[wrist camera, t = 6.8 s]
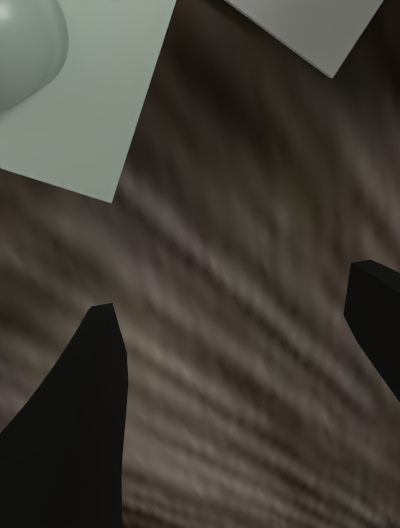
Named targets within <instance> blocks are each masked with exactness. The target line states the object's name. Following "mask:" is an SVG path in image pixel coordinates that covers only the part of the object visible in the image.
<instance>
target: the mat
mask: <svg viewBox="0 0 400 528" xmlns="http://www.w3.org/2000/svg"><path fill="white" fill-rule="evenodd" d="M224 1H226V2H227V3H228V4H230V5H231V6H232V7H234V8H235V9H237V10H238V11H239V12H241V13H242V14H243V15H245V16H246V17H247V18H249V19H250V20H251V21H253V22H254V23H256V24H257V25H258V26H260V27H261V28H262V29H264V30H265V31H266V32H268V33H269V34H270V35H272V36H273V37H274V38H276V39H277V40H279V41H280V42H281V43H283V44H284V45H285V46H287V47H288V48H289V49H291V50H292V51H293V52H295V53H296V54H298V55H299V56H300V57H302V58H303V59H304V60H306V61H307V62H308V63H310V64H311V65H312V66H314V67H315V68H317V69H318V70H319V71H321V72H322V73H323V74H325V75H326V76H327V77H330V78H333V77H334V75H335V74H336V72H337V71H338V69H339V68H340V66H341V65H342V63H343V61H344V60H345V58H346V57H347V55H348V54H349V52H350V51H351V49H352V48H353V46H354V45H355V43H356V42H357V40H358V39H359V37H360V35H361V34H362V32H363V31H364V29H365V28H366V26H367V25H368V23H369V22H370V20H371V19H372V17H373V16H374V14H375V13H376V11H377V9H378V8H379V6H380V5H381V3H382V2H383V0H224Z"/></svg>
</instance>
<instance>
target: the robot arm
mask: <svg viewBox="0 0 400 528" xmlns="http://www.w3.org/2000/svg"><path fill="white" fill-rule="evenodd" d="M344 317H345V319H346V321H347V323H348V325H349V327H350V329H351V331H352V333H353V335H354V336H355V338H356V340H357V342H358V344H359V345H360V347H361V348H362V350H363V351H364V352H365V354H366V355H367V357H368V358H369V360H370V361H371V363H372V364H373V365H374V367H375V368H376V370H377V371H378V372H379V374H380V375H381V377H382V378H383V379H384V381H385V382H386V384H387V385H388V386H389V388H390V389H391V391H392V392H393V394H394V395H395V396H396V398H397V399H398V401H399V402H400V273H399V272H397V271H395V270H393V269H390V268H388V267H386V266H384V265H382V264H379V263H377V262H375V261H372V260H367V261H361V262H355V263H351V267H350V274H349V281H348V288H347V295H346V302H345V309H344ZM127 394H128V367H127V352H126V349H125V345H124V342H123V338H122V335H121V331H120V328H119V324H118V321H117V318H116V314H115V311H114V307H113V304H112V303H110V304H104V305H98V306H92V307H91V308H90V309H89V310H88V312H87V313H86V315H85V317H84V319H83V320H82V322H81V324H80V325H79V327H78V329H77V331H76V332H75V334H74V335H73V337H72V339H71V340H70V342H69V344H68V345H67V347H66V348H65V350H64V351H63V353H62V354H61V356H60V358H59V359H58V361H57V362H56V364H55V365H54V367H53V368H52V369H51V371H50V372H49V374H48V375H47V376H46V378H45V379H44V380H43V382H42V383H41V385H40V386H39V387H38V389H37V390H36V391H35V393H34V394H33V395H32V397H31V398H30V399H29V400H28V402H27V403H26V404H25V405H24V407H23V408H22V409H21V410H20V411H19V413H18V414H17V415H16V416H15V417H14V418H13V420H12V421H11V422H10V423H9V424H8V425H7V427H6V428H5V429H4V430H3V431H2V432H1V433H0V528H122V483H121V475H122V455H123V443H124V431H125V419H126V406H127Z"/></svg>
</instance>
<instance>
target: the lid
mask: <svg viewBox="0 0 400 528" xmlns="http://www.w3.org/2000/svg"><path fill="white" fill-rule="evenodd" d="M175 3H176V0H0V168H1V169H4V170H7V171H10V172H14V173H17V174H20V175H23V176H26V177H30V178H33V179H36V180H39V181H42V182H45V183H49V184H52V185H55V186H58V187H61V188H65V189H68V190H71V191H74V192H77V193H80V194H84V195H87V196H90V197H93V198H96V199H99V200H103V201H106V202H109V203H112V200H113V197H114V194H115V191H116V188H117V184H118V181H119V178H120V175H121V172H122V169H123V166H124V163H125V159H126V156H127V153H128V150H129V147H130V144H131V141H132V137H133V134H134V131H135V128H136V125H137V122H138V119H139V116H140V112H141V109H142V106H143V103H144V100H145V97H146V94H147V90H148V87H149V84H150V81H151V78H152V75H153V72H154V69H155V65H156V62H157V59H158V56H159V53H160V50H161V47H162V43H163V40H164V37H165V34H166V31H167V28H168V25H169V22H170V18H171V15H172V12H173V9H174V6H175Z"/></svg>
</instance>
